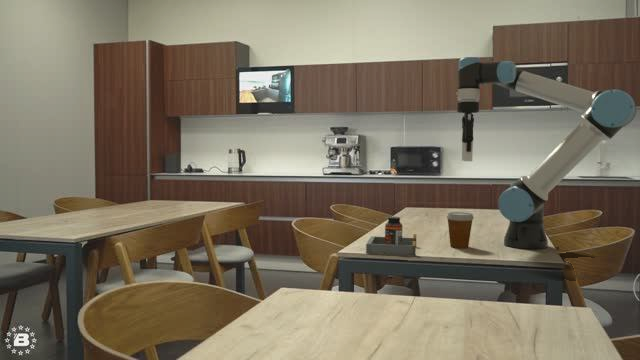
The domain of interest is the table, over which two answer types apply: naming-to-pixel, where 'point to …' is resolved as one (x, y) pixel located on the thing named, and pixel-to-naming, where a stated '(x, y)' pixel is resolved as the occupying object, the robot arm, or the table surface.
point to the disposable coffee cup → (459, 228)
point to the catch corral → (391, 246)
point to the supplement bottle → (393, 231)
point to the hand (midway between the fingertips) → (466, 161)
